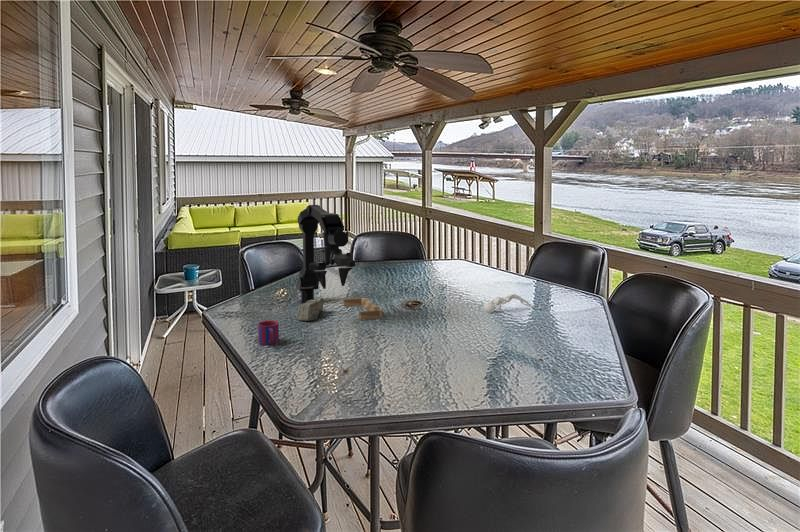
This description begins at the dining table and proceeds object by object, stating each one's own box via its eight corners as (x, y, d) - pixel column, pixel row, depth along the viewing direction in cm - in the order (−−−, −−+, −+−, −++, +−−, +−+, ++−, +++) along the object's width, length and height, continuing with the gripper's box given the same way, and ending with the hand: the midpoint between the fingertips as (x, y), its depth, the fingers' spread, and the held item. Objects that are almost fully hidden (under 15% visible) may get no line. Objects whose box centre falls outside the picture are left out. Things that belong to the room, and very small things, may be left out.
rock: (301, 300, 214) (324, 294, 214) (305, 315, 215) (328, 310, 215) (291, 309, 197) (316, 303, 197) (296, 326, 198) (321, 320, 198)
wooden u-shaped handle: (342, 305, 224) (342, 299, 223) (363, 304, 228) (363, 297, 227) (360, 320, 203) (360, 312, 202) (382, 317, 207) (382, 310, 206)
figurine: (542, 301, 222) (496, 291, 211) (536, 323, 223) (489, 315, 212) (528, 296, 230) (483, 286, 219) (522, 318, 231) (477, 309, 220)
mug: (278, 338, 180) (277, 319, 179) (280, 347, 170) (280, 328, 169) (258, 340, 178) (257, 321, 176) (259, 349, 168) (259, 329, 167)
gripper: (325, 247, 185) (328, 291, 186) (363, 245, 199) (365, 285, 200) (306, 248, 193) (309, 289, 194) (344, 245, 206) (347, 284, 207)
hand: (333, 287), depth 198 cm, fingers open, 9 cm apart
